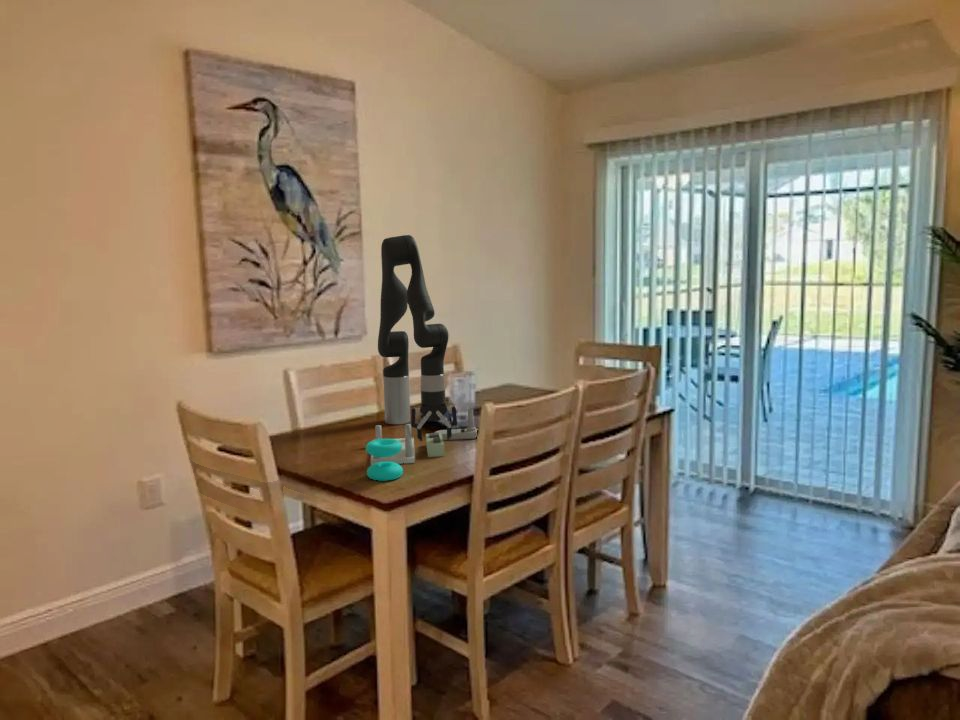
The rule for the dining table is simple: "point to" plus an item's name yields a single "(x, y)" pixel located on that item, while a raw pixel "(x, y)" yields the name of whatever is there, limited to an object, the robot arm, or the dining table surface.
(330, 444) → the dining table surface
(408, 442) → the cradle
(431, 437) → the pale green block
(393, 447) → the donuts
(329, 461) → the dining table surface
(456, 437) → the electronic device
